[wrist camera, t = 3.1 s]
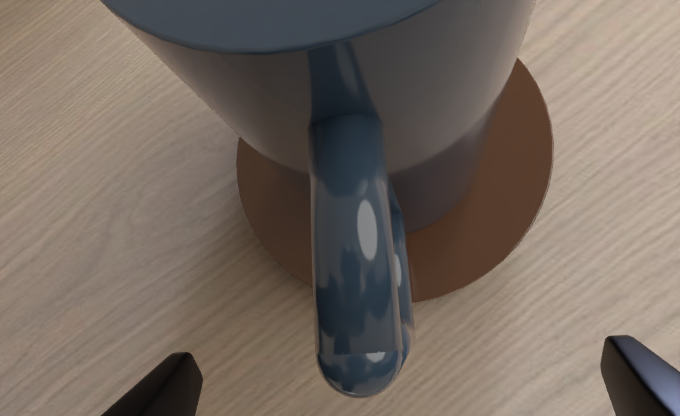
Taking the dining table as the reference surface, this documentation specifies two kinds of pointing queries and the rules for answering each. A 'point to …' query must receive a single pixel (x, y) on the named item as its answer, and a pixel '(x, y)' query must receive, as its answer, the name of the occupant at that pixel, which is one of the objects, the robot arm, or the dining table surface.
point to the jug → (369, 149)
